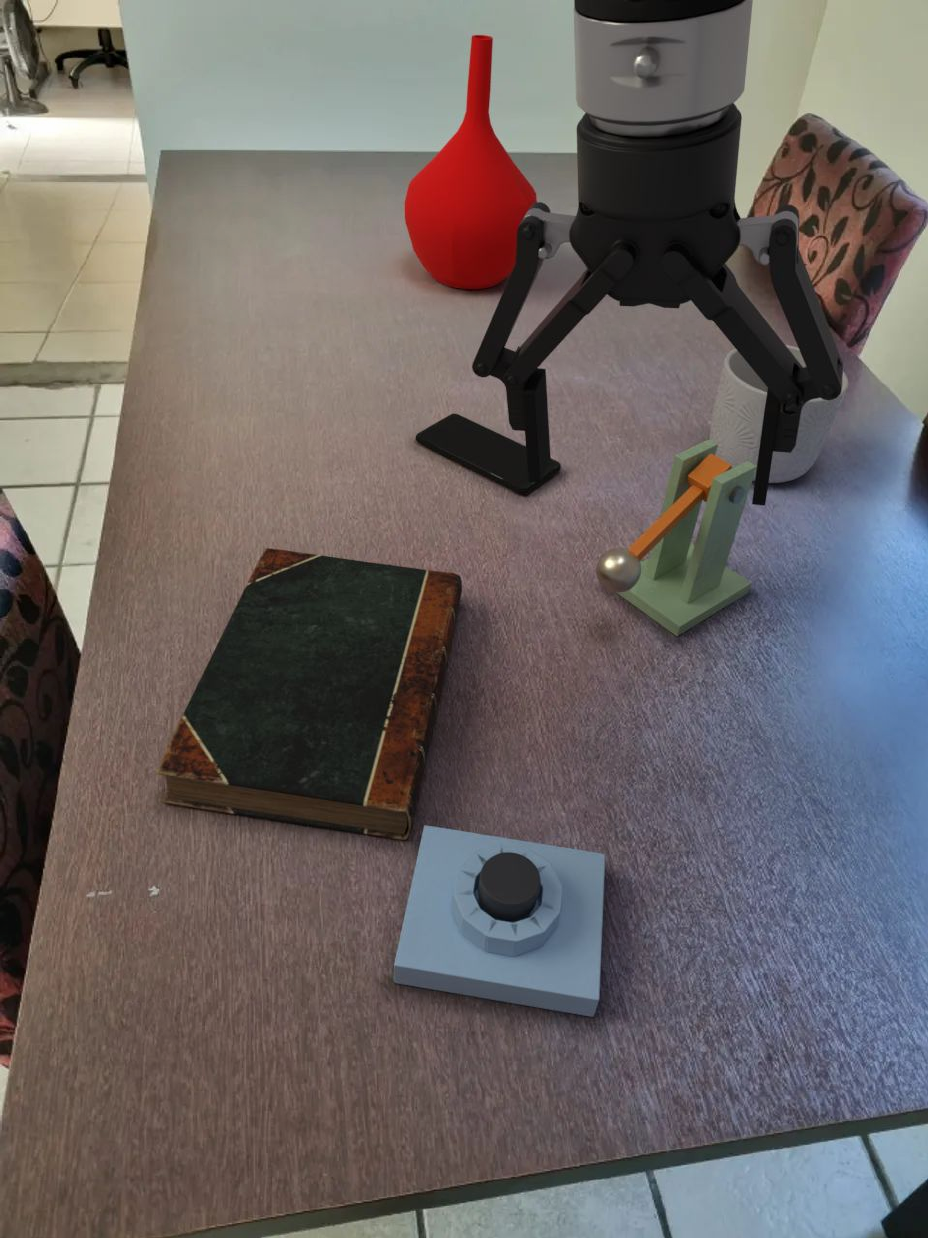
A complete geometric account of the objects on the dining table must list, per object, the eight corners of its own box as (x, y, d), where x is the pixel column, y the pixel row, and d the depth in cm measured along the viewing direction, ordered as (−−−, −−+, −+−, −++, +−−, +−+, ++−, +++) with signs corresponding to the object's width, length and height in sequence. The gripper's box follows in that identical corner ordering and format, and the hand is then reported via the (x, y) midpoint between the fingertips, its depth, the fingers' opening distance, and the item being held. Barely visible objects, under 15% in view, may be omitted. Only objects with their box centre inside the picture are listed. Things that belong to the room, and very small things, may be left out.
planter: (826, 499, 98) (862, 405, 90) (707, 489, 98) (734, 394, 90) (802, 437, 107) (833, 347, 99) (693, 427, 107) (716, 337, 100)
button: (539, 873, 58) (543, 856, 57) (534, 925, 55) (537, 909, 54) (482, 863, 58) (484, 847, 57) (474, 915, 56) (476, 899, 55)
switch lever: (622, 608, 76) (615, 585, 73) (591, 585, 78) (582, 561, 75) (740, 490, 78) (738, 464, 75) (706, 471, 80) (703, 444, 77)
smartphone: (524, 491, 94) (412, 435, 100) (523, 498, 94) (412, 441, 101) (564, 463, 98) (454, 411, 104) (563, 470, 98) (453, 417, 105)
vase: (418, 306, 127) (425, 53, 107) (392, 253, 140) (394, 19, 120) (546, 299, 131) (577, 55, 111) (510, 249, 144) (531, 22, 124)
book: (267, 577, 83) (160, 804, 64) (264, 545, 81) (152, 771, 62) (462, 604, 82) (410, 842, 63) (464, 572, 80) (411, 810, 61)
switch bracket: (676, 636, 80) (715, 504, 71) (609, 587, 85) (637, 456, 76) (748, 592, 85) (793, 463, 76) (681, 548, 90) (716, 421, 81)
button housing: (600, 872, 63) (610, 837, 60) (593, 1018, 55) (604, 985, 52) (423, 843, 63) (425, 807, 61) (393, 983, 56) (393, 949, 53)
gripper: (379, 139, 44) (437, 496, 59) (960, 134, 37) (860, 542, 52) (430, 87, 49) (472, 429, 64) (952, 73, 42) (863, 462, 57)
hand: (646, 480), depth 58 cm, fingers open, 13 cm apart
